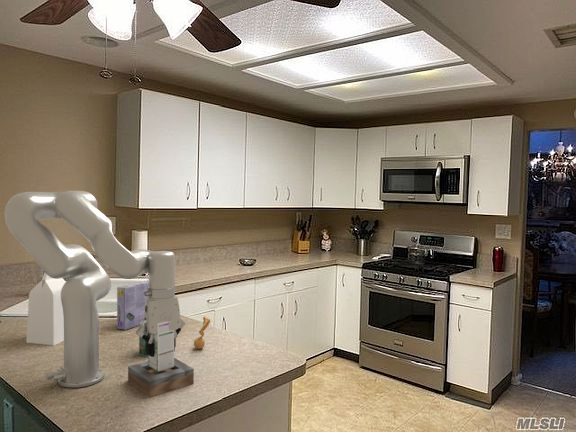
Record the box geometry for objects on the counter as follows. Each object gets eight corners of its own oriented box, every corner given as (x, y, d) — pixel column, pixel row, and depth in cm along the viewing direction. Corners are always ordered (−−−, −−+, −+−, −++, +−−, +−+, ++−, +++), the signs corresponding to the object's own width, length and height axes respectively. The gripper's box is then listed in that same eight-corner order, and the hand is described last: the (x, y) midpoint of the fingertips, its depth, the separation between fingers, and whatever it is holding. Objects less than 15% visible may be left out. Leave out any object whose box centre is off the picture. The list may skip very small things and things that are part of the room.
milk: (53, 345, 161) (53, 274, 160) (26, 342, 163) (26, 272, 162) (75, 335, 173) (75, 269, 172) (50, 332, 175) (50, 267, 174)
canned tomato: (155, 357, 152) (156, 326, 151) (134, 355, 153) (134, 324, 153) (166, 349, 160) (166, 319, 159) (145, 347, 161) (146, 318, 160)
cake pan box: (148, 318, 199) (149, 279, 198) (157, 319, 197) (157, 280, 196) (115, 329, 182) (115, 286, 181) (124, 331, 180) (125, 288, 179)
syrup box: (174, 367, 132) (175, 319, 131) (157, 372, 128) (157, 322, 127) (164, 361, 136) (165, 315, 135) (147, 366, 131) (147, 318, 131)
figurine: (197, 344, 166) (198, 312, 165) (213, 345, 165) (213, 313, 165) (190, 352, 158) (190, 318, 157) (206, 353, 157) (207, 319, 156)
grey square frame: (149, 397, 122) (149, 381, 122) (127, 381, 132) (128, 366, 132) (193, 383, 132) (193, 368, 131) (170, 369, 142) (170, 355, 142)
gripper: (139, 299, 122) (138, 363, 123) (193, 291, 134) (193, 349, 135) (127, 294, 128) (127, 356, 128) (181, 287, 139) (180, 343, 140)
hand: (161, 352), depth 132 cm, fingers closed on syrup box, 5 cm apart
